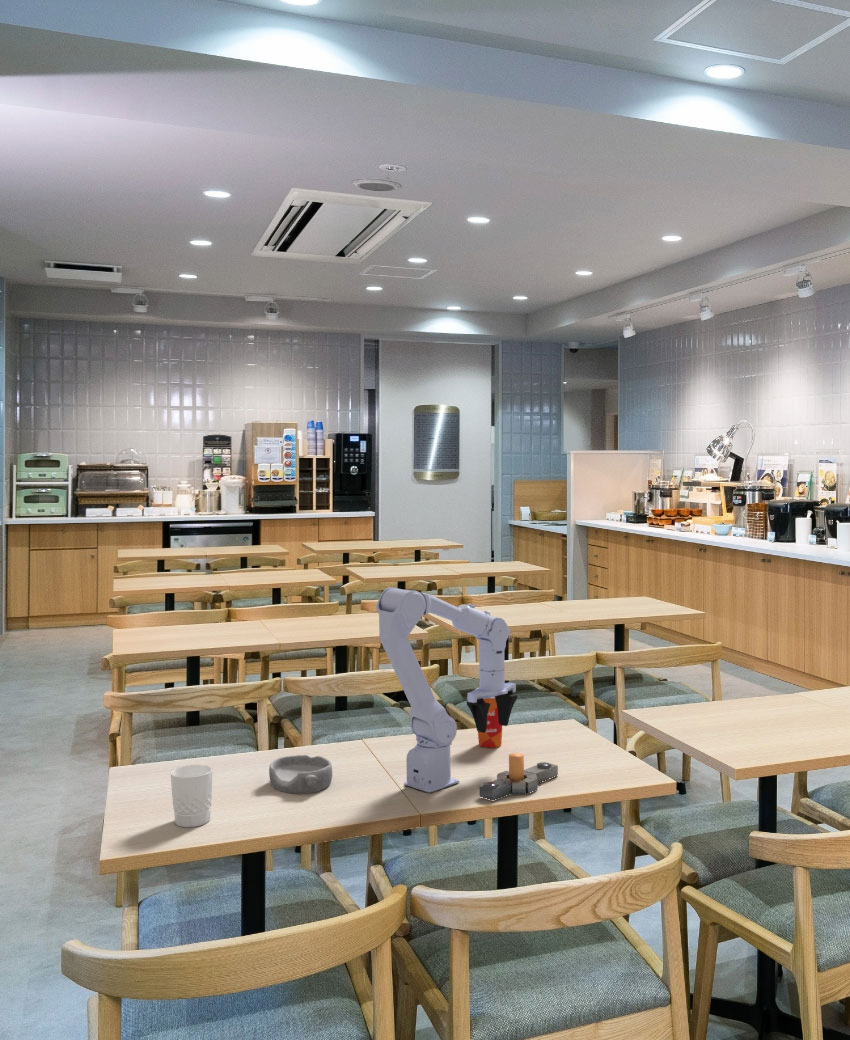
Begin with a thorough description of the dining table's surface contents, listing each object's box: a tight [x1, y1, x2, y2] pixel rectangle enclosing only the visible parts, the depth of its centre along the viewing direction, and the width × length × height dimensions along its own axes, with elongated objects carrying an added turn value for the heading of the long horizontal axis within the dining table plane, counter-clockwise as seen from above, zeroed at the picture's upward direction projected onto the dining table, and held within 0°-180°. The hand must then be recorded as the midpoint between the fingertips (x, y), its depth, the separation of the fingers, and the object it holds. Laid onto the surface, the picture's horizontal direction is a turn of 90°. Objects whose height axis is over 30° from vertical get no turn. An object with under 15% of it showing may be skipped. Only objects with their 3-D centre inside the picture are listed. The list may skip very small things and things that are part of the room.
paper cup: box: [476, 687, 503, 749], centre depth 226 cm, size 8×8×14 cm
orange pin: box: [508, 752, 525, 780], centre depth 195 cm, size 3×3×7 cm
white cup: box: [170, 764, 213, 828], centre depth 178 cm, size 8×8×10 cm
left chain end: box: [478, 779, 538, 800], centre depth 193 cm, size 14×8×3 cm, turn 135°
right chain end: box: [496, 761, 559, 789], centre depth 197 cm, size 16×8×3 cm, turn 135°
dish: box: [268, 754, 333, 795], centre depth 199 cm, size 14×14×5 cm
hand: (492, 728), depth 207 cm, fingers open, 7 cm apart
